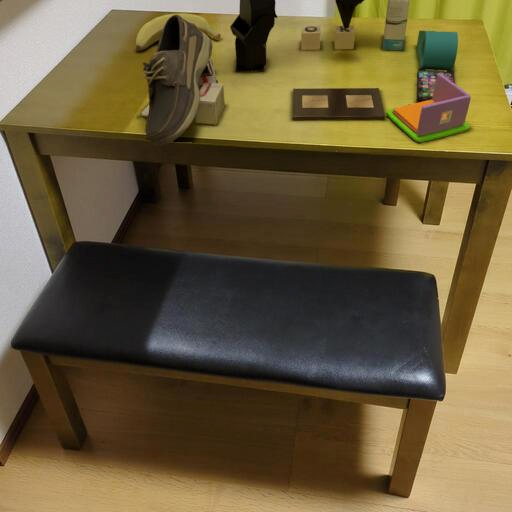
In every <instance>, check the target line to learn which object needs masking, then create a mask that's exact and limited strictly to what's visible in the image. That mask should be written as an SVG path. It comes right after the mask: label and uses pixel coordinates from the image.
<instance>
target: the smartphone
mask: <svg viewBox="0 0 512 512" xmlns="http://www.w3.org/2000/svg"><path fill="white" fill-rule="evenodd" d="M454 71H455V70H453V69H452V70H451V69H433V68H420V67H419V68H418V69H417V73H416V79H417V81H416V83H417V85H416V101H417V103H419V102H423V101H427V100H432V98H433V93H434V88H435V83H436V78H437V75H440V74H441V75H443V76H445V77H446V78H448V79H449V80H450V81H452V82H453V83H454V84H456V78H455V72H454Z"/></svg>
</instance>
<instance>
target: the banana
mask: <svg viewBox="0 0 512 512" xmlns="http://www.w3.org/2000/svg"><path fill="white" fill-rule="evenodd" d="M173 15H179V16H181V17H182V18H183V19H184V20H186V21H187V22H190V23H193V24H195V25H196V27H197V28H198V29H199V30H200V31H201V32H203V33H205V34H206V35H209V36H210V37H212V38H214V40H215V41H219V40H220V39H221V33H219V32H216V31H213V29H212V28H211V26H210V24H209V22H208V20H207V19H206V18H204V17H202V16H200V15H198V14H195V13H194V14H193V13H181V12H180V13H168V14H164V15H161V16H157V17H155V18H152V19H151V20H149V21H147V22H146V23H145V24H144V25H143V26H141V28H140V30H139V31H138V32H137V35H136V38H135V48H136V50H137V51H144V50H146V49H147V48H149V47H150V46H152V45H153V44H155V43H156V42H159V40H160V38H161V34H162V31H163V28H164V26H165V24H166V22H167V20H168V19H169V18H170V17H171V16H173Z"/></svg>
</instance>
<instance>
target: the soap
mask: <svg viewBox="0 0 512 512" xmlns="http://www.w3.org/2000/svg"><path fill="white" fill-rule="evenodd" d="M148 114H149V103H148V105H146V107H145V108H143V109H142V111H141V115H142V117H147V118H148Z"/></svg>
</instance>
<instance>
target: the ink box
mask: <svg viewBox="0 0 512 512" xmlns="http://www.w3.org/2000/svg"><path fill="white" fill-rule="evenodd" d="M410 2H411V0H387V5H386V13H385V14H386V15H385V21H384V29H383V30H384V31H383V42H382V50H383V51H403V50H404V46H405V45H404V44H405V38H406V33H407V24H408V19H409V18H408V17H409V9H410Z"/></svg>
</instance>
